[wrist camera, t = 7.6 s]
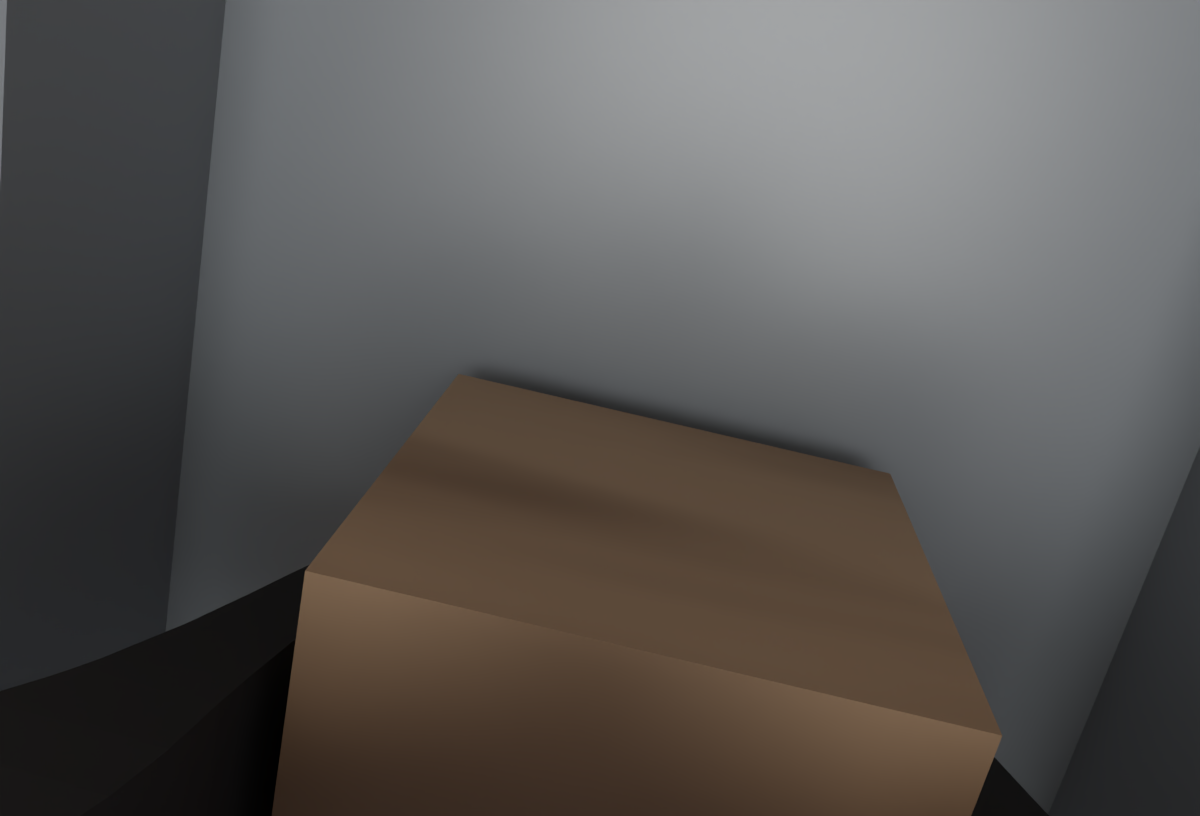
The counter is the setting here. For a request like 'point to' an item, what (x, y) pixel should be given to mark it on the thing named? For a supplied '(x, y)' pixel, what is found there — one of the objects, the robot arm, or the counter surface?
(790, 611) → the walnut cube
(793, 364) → the tote
